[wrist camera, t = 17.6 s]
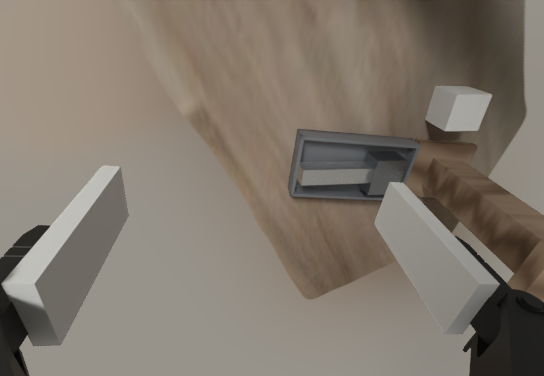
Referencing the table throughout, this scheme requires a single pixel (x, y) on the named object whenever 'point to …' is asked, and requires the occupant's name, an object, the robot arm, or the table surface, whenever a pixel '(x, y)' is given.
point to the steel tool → (356, 172)
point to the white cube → (457, 108)
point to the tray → (344, 159)
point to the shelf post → (483, 209)
